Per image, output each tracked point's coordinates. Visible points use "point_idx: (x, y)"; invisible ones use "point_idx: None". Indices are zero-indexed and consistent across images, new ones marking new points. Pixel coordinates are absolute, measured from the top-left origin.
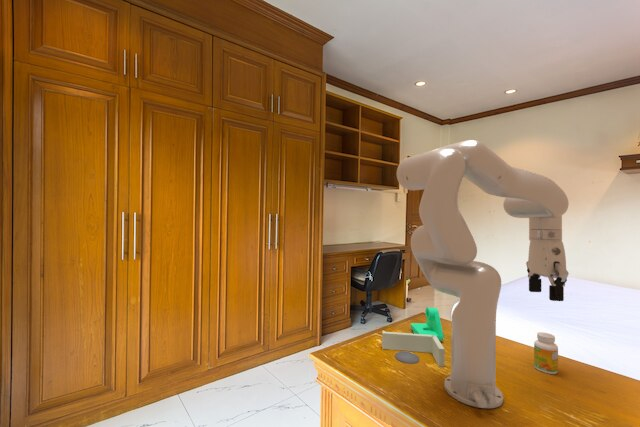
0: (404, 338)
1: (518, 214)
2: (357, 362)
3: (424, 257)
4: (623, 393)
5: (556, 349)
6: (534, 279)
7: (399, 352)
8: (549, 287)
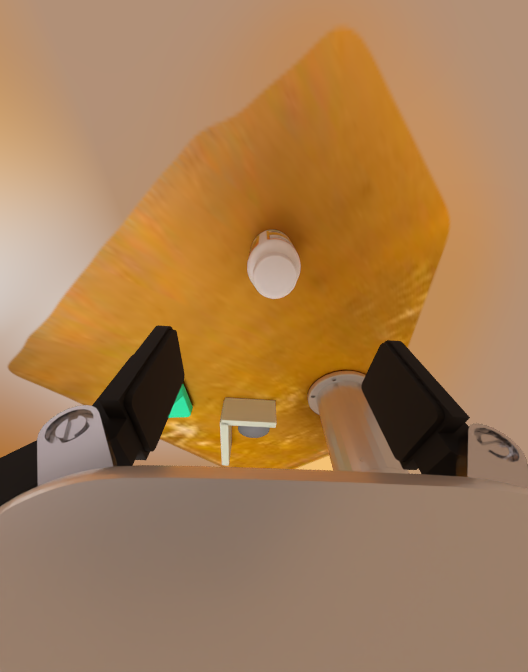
0: (229, 443)
1: None
2: (271, 460)
3: None
4: (382, 132)
5: (298, 256)
6: (148, 436)
7: (241, 433)
8: (397, 453)
